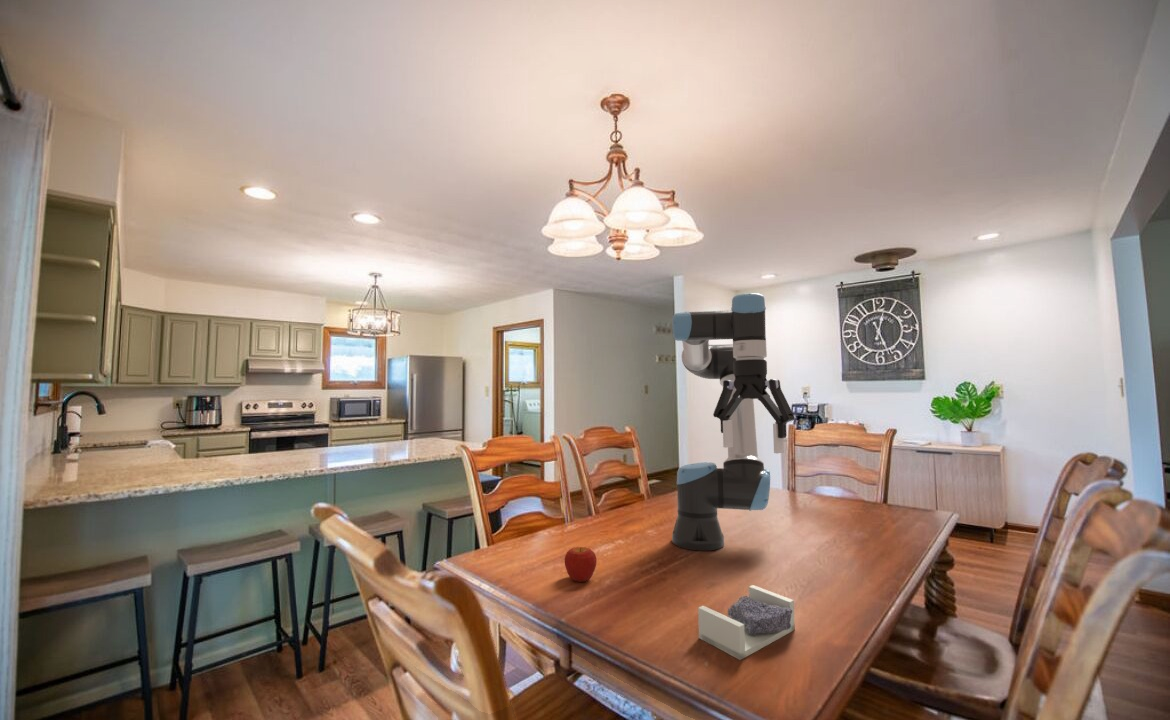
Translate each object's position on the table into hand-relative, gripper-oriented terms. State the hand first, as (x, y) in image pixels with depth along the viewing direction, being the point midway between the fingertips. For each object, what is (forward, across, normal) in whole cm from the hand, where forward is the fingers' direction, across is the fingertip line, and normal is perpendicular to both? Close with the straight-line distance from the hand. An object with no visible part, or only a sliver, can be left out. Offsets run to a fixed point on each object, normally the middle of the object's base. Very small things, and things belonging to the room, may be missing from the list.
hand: (752, 450), depth 112 cm
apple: (+32, -29, -29) cm, 52 cm away
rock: (+31, +11, -17) cm, 37 cm away
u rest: (+32, +11, -19) cm, 39 cm away
